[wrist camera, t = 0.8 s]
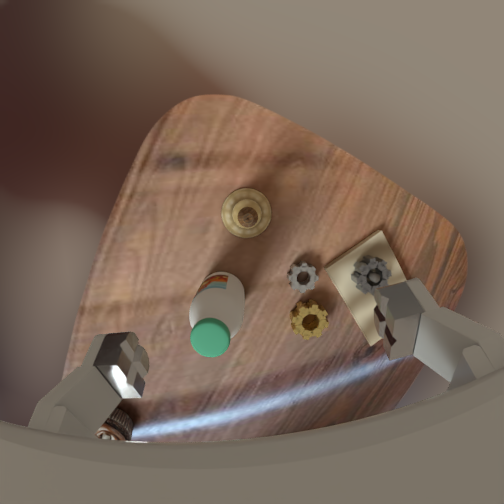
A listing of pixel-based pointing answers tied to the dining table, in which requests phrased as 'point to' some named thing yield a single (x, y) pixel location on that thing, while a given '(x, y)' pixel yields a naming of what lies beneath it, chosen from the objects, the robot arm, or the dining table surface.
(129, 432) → the cupcake
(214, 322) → the milk bottle
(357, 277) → the steel gear
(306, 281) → the zinc gear
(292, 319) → the brass gear
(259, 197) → the hand bell
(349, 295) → the gear board
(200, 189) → the dining table surface
